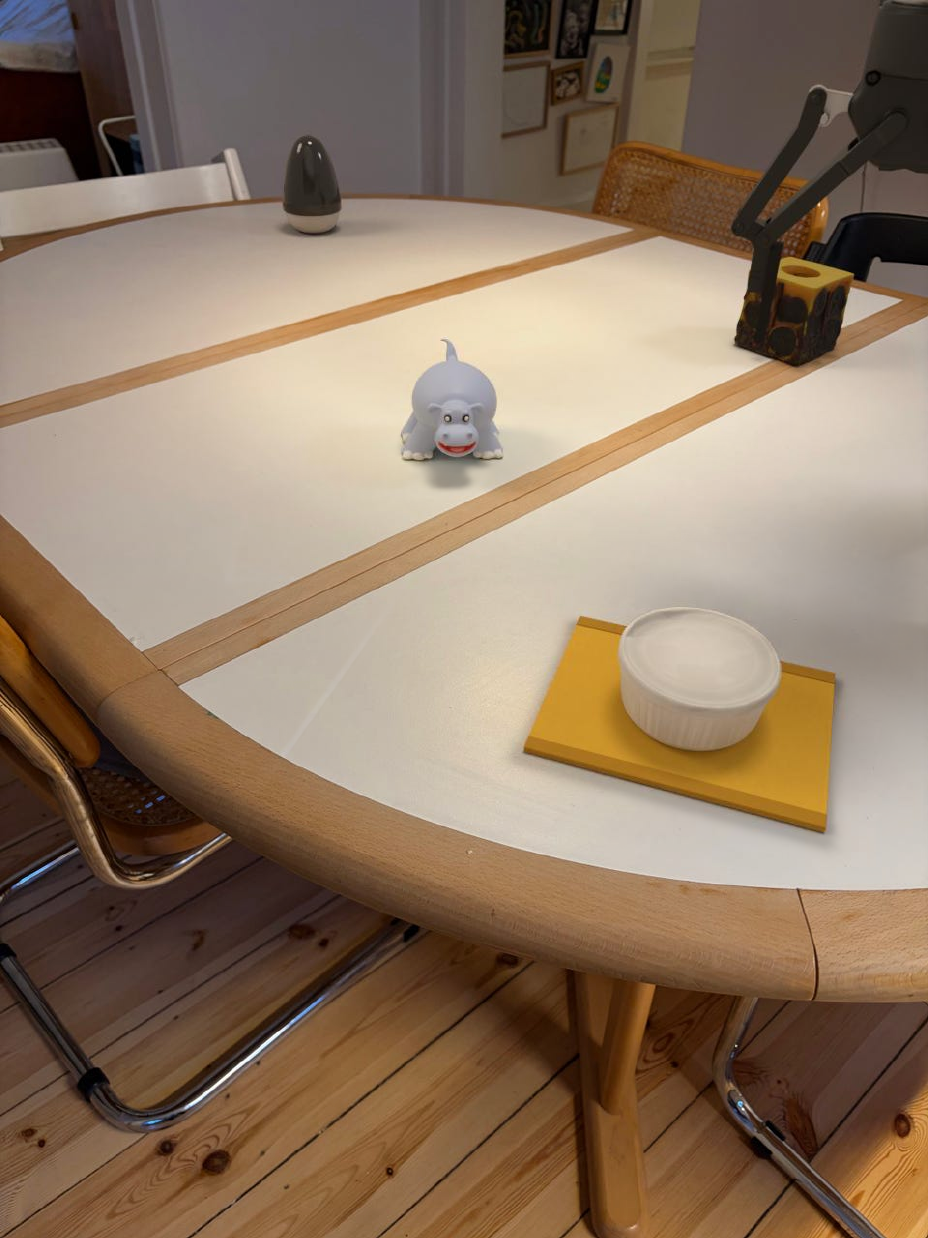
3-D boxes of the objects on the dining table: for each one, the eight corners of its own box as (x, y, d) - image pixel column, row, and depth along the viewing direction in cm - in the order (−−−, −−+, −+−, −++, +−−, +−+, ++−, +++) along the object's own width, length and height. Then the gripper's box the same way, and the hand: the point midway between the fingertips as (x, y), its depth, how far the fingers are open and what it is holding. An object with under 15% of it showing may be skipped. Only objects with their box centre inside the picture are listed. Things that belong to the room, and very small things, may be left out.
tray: (834, 678, 71) (835, 673, 71) (824, 833, 59) (826, 827, 59) (579, 620, 76) (580, 615, 76) (522, 751, 64) (523, 746, 64)
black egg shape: (344, 221, 170) (339, 128, 161) (341, 237, 162) (336, 140, 152) (287, 221, 169) (279, 127, 160) (282, 237, 161) (273, 140, 152)
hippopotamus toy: (403, 486, 93) (401, 397, 87) (400, 420, 105) (398, 337, 99) (510, 484, 94) (515, 396, 88) (495, 419, 106) (498, 337, 100)
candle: (796, 367, 120) (816, 289, 114) (730, 345, 126) (745, 269, 119) (837, 349, 125) (858, 273, 119) (772, 327, 131) (789, 254, 125)
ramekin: (683, 641, 74) (695, 587, 71) (799, 721, 67) (818, 665, 64) (577, 696, 68) (585, 639, 65) (691, 789, 61) (705, 732, 58)
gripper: (1173, -2, 55) (1037, 349, 67) (737, -12, 61) (689, 311, 74) (1210, 8, 49) (1054, 390, 62) (726, -4, 55) (676, 345, 68)
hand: (855, 348), depth 68 cm, fingers open, 13 cm apart
